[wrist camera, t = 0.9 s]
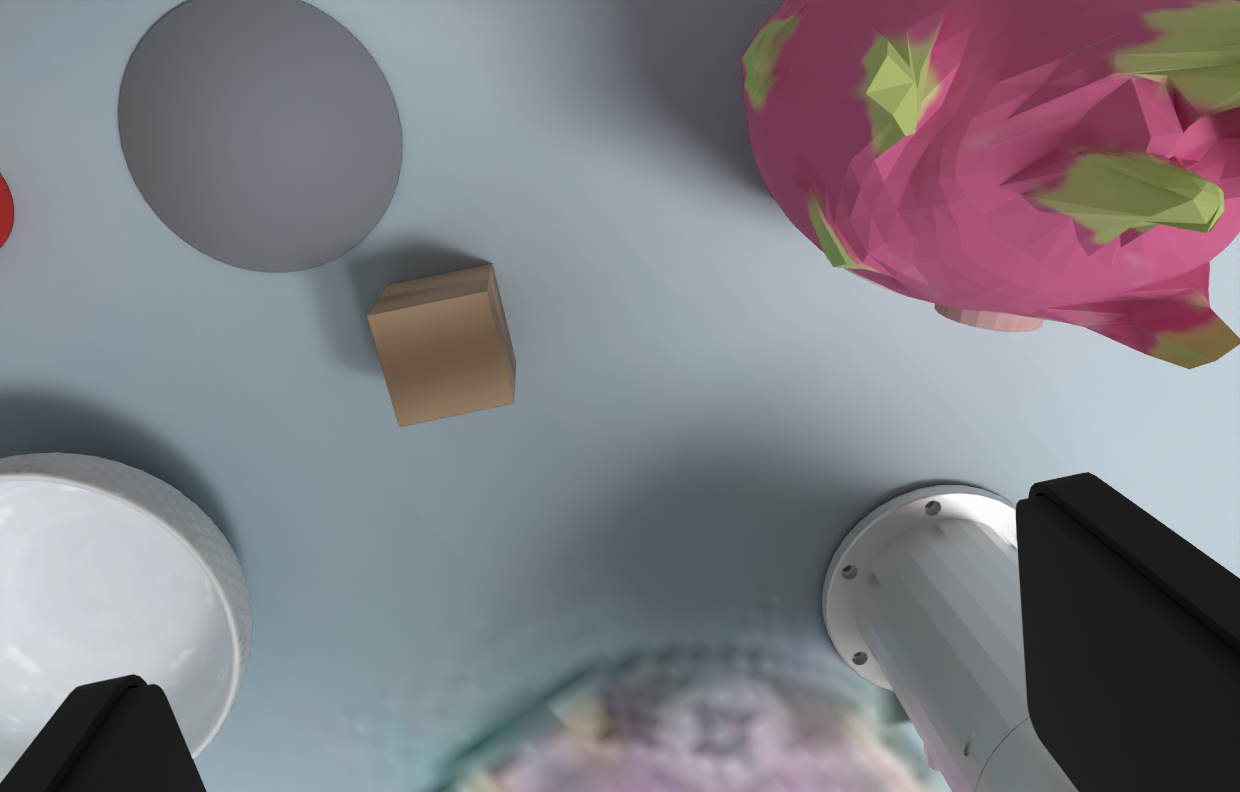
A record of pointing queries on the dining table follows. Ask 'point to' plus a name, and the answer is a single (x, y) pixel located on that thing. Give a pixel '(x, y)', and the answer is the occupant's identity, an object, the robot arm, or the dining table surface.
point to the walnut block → (444, 345)
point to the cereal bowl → (113, 595)
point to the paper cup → (5, 211)
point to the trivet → (260, 132)
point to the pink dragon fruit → (1013, 156)
